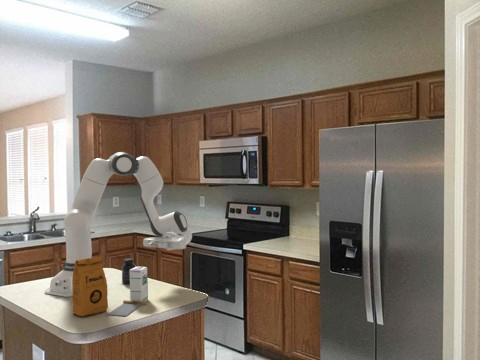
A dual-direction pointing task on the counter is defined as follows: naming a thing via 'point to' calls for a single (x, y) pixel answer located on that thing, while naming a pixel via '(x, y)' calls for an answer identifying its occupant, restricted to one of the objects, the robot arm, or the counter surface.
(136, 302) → the brown block
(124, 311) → the mat
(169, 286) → the counter surface
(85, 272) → the coffee package
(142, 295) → the syrup box
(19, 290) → the counter surface
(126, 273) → the supplement bottle
